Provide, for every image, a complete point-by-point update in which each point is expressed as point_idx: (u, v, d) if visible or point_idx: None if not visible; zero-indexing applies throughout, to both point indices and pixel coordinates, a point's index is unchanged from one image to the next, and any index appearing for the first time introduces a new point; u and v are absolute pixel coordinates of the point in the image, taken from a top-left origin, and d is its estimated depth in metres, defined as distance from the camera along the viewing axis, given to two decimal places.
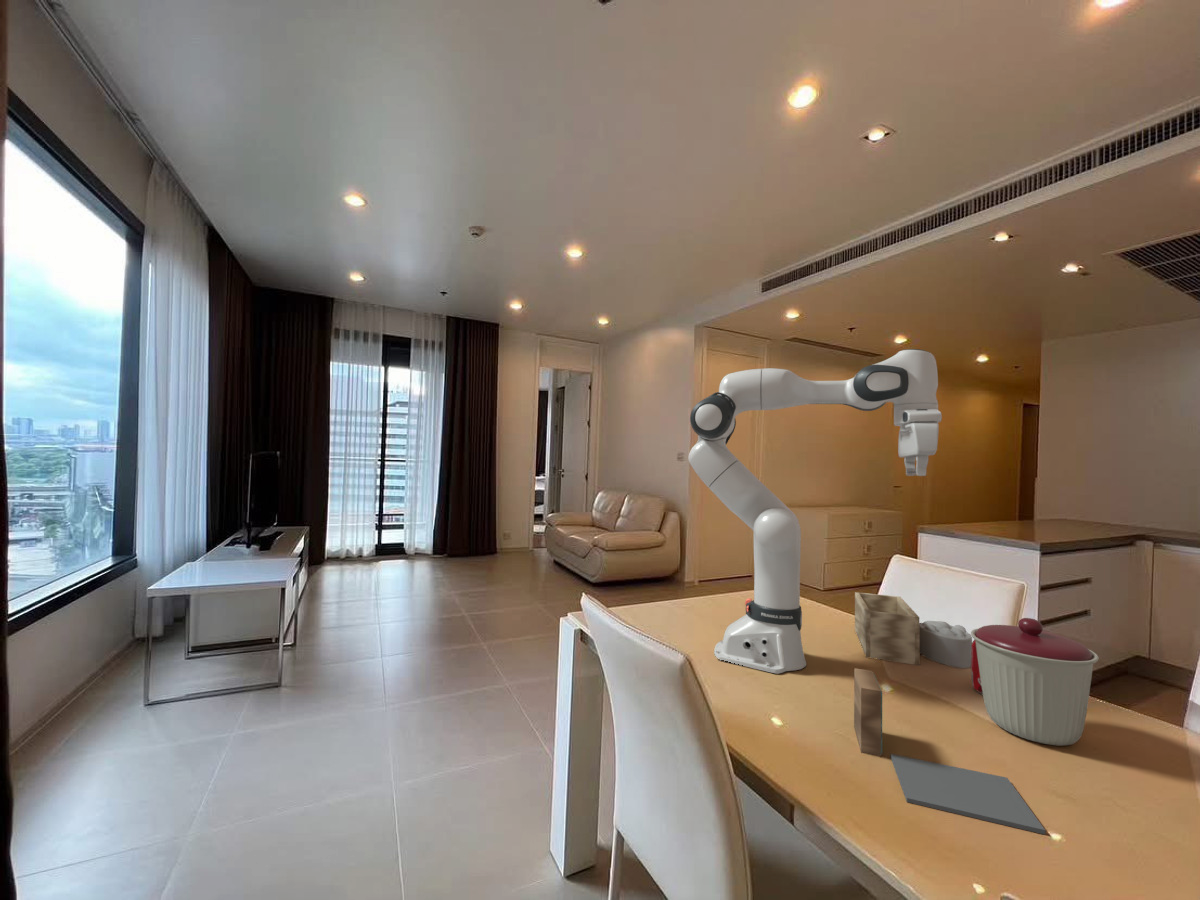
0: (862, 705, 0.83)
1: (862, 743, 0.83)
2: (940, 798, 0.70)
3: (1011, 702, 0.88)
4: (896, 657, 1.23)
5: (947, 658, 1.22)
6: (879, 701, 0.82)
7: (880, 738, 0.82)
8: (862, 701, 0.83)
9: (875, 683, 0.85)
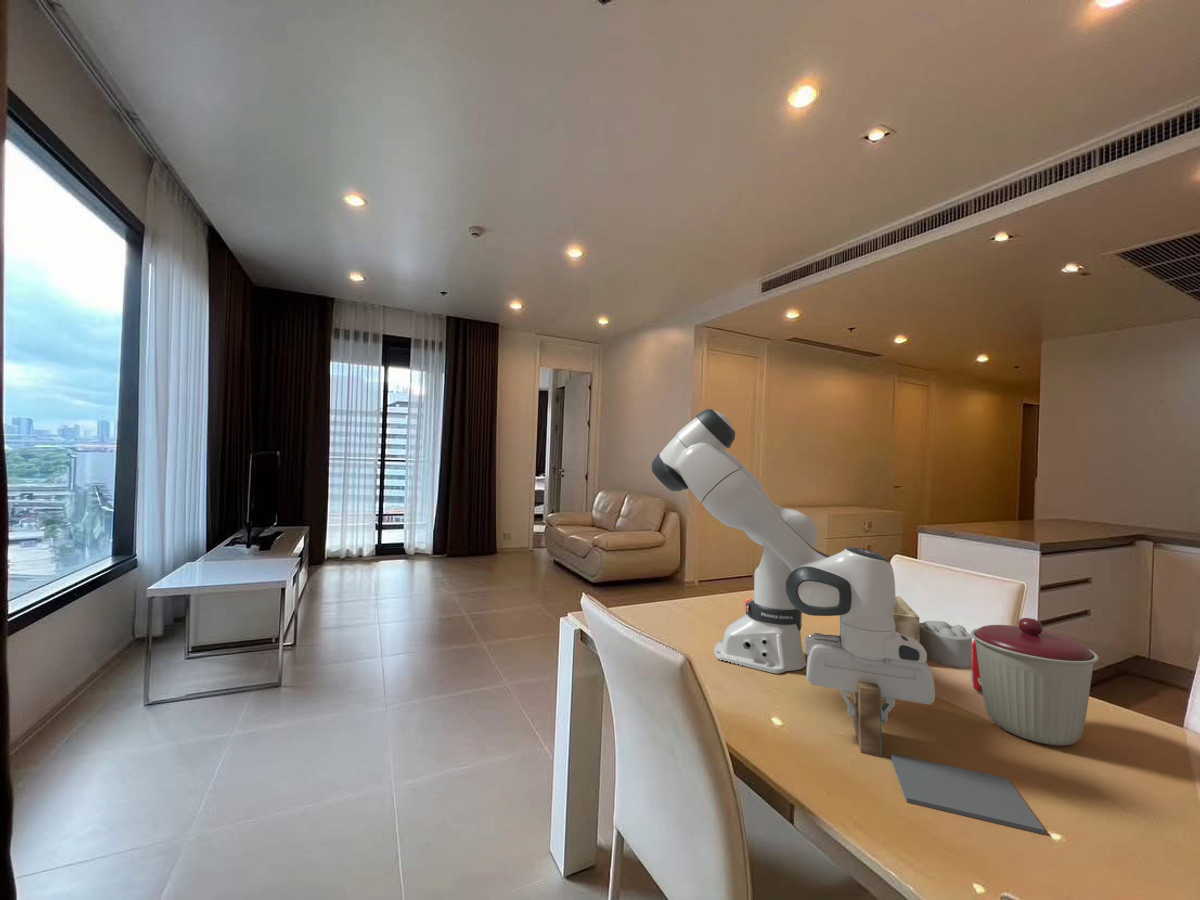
0: (861, 705, 0.83)
1: (862, 743, 0.83)
2: (940, 798, 0.70)
3: (1011, 702, 0.88)
4: None
5: (947, 658, 1.22)
6: (878, 700, 0.82)
7: (880, 737, 0.82)
8: (861, 701, 0.83)
9: None
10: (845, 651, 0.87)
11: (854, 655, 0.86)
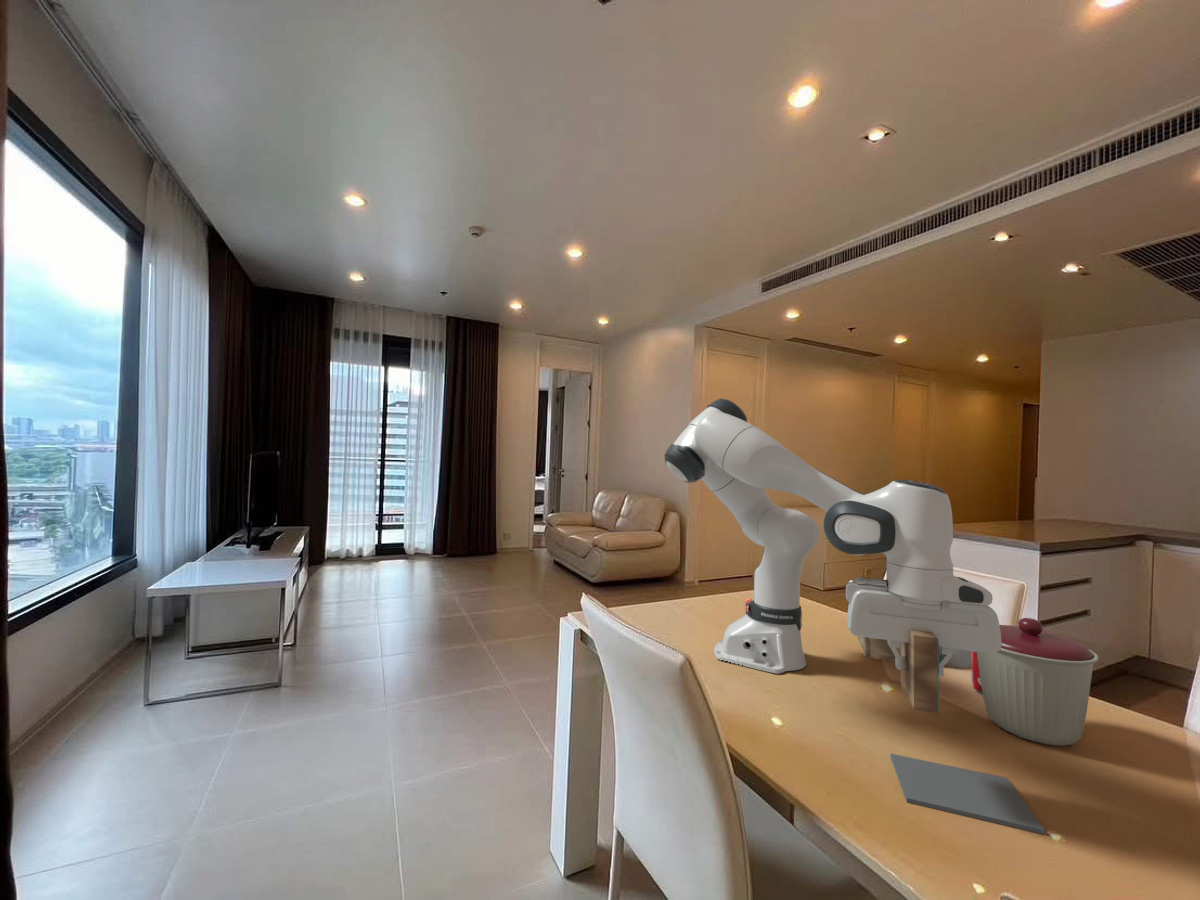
0: (915, 655, 0.72)
1: (915, 698, 0.72)
2: (940, 798, 0.70)
3: (1011, 702, 0.88)
4: None
5: None
6: (935, 650, 0.71)
7: (937, 692, 0.71)
8: (915, 650, 0.72)
9: None
10: (894, 596, 0.76)
11: (905, 600, 0.75)
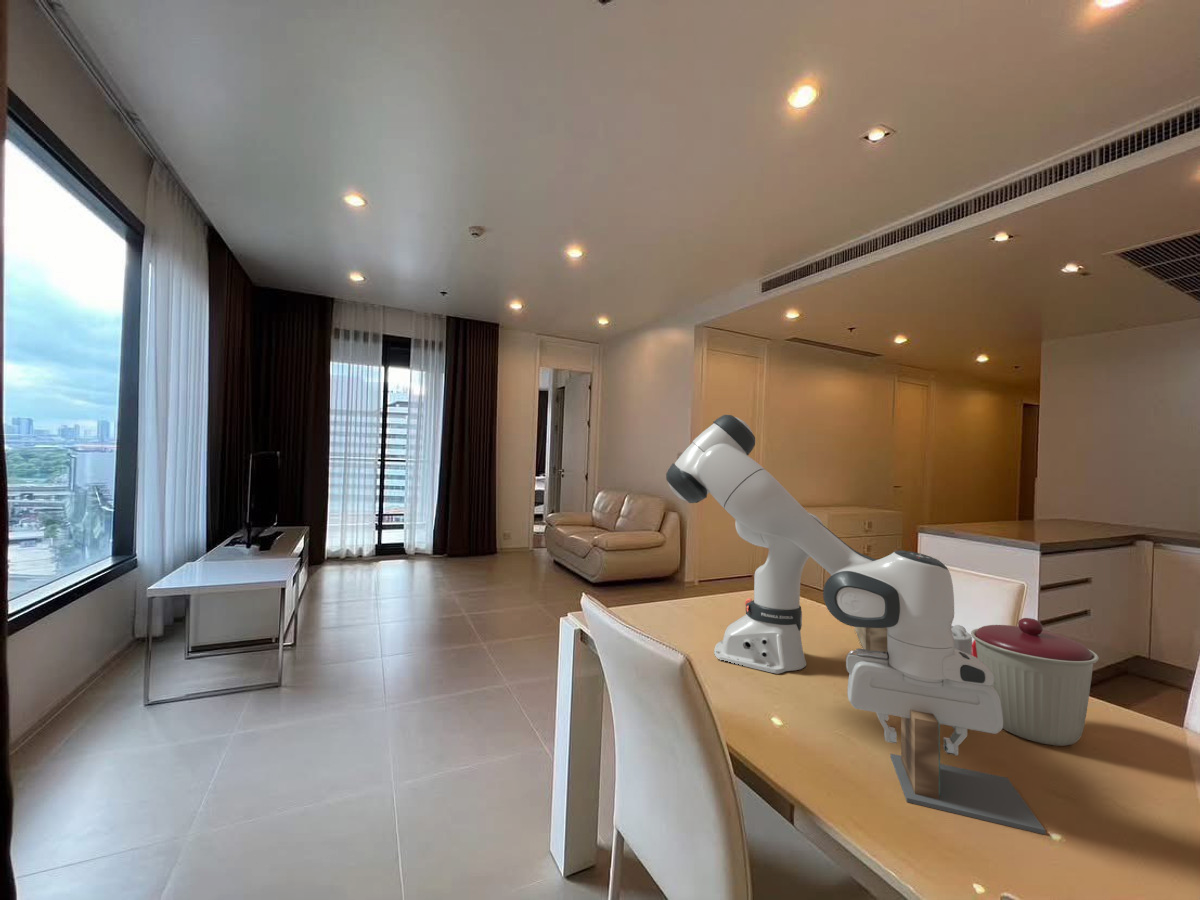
0: (916, 739, 0.71)
1: (916, 783, 0.71)
2: (940, 798, 0.70)
3: (1011, 702, 0.88)
4: None
5: None
6: (936, 734, 0.71)
7: (938, 777, 0.70)
8: (916, 734, 0.71)
9: None
10: (895, 670, 0.75)
11: (906, 675, 0.74)
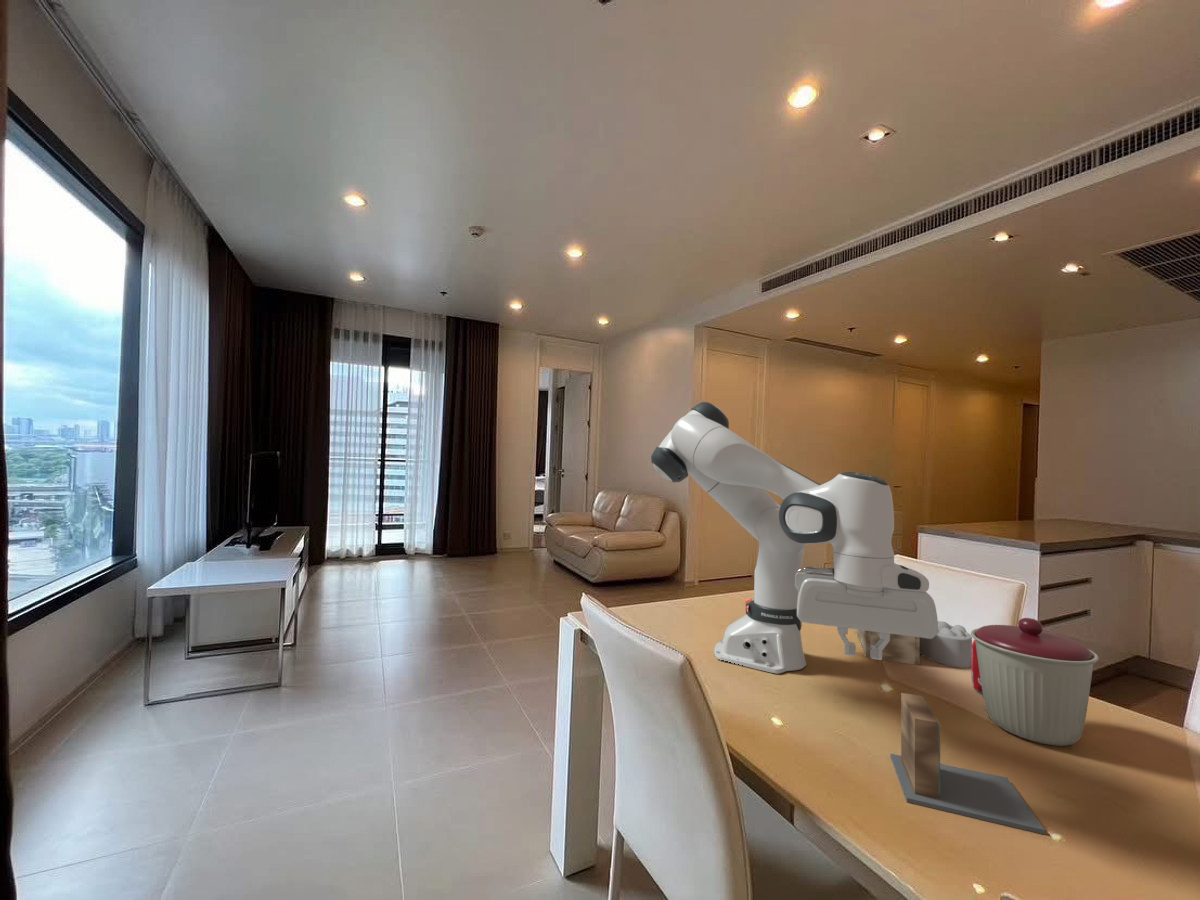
0: (916, 739, 0.71)
1: (916, 783, 0.71)
2: (940, 798, 0.70)
3: (1011, 702, 0.88)
4: (896, 657, 1.23)
5: (947, 658, 1.22)
6: (936, 734, 0.71)
7: (938, 777, 0.70)
8: (916, 734, 0.71)
9: (929, 712, 0.73)
10: (839, 583, 0.79)
11: (849, 587, 0.78)
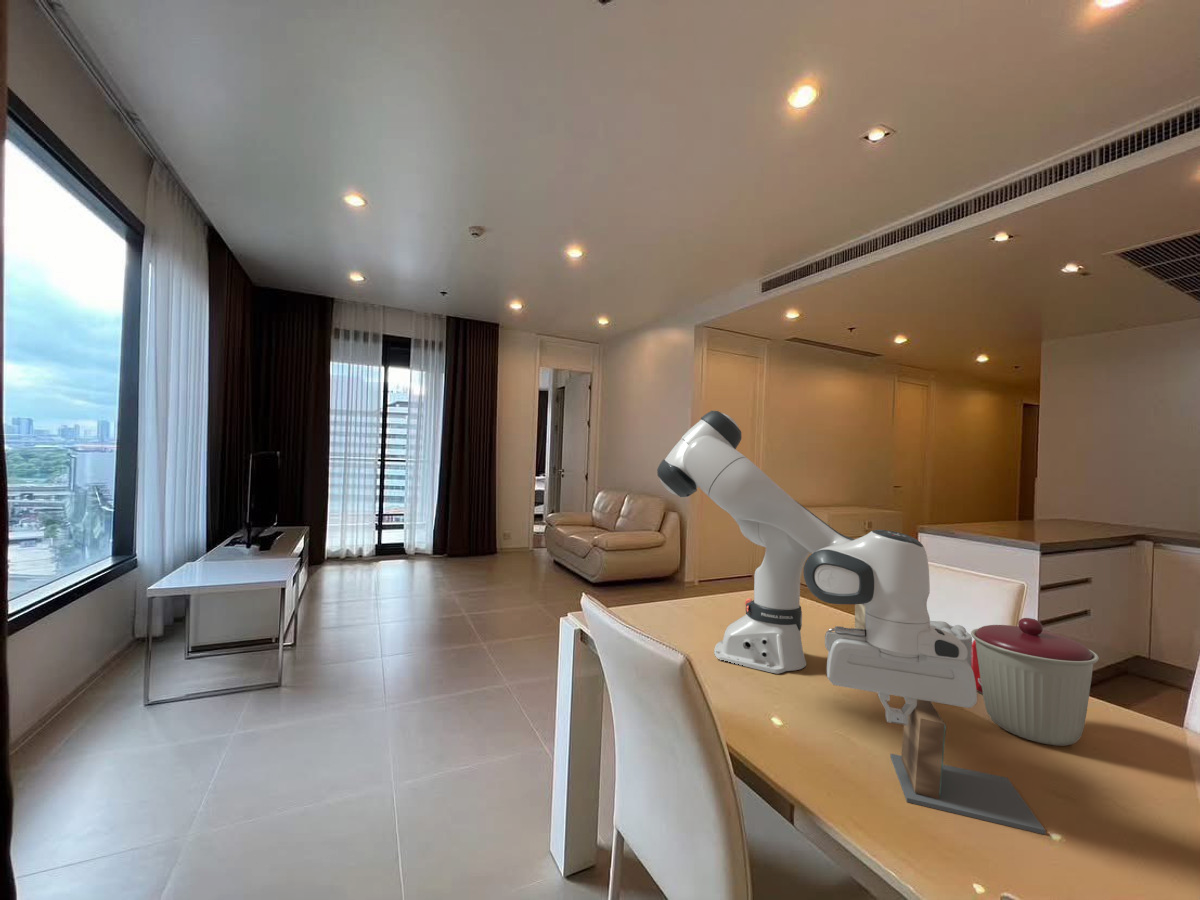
0: (920, 738, 0.71)
1: (917, 782, 0.71)
2: (940, 798, 0.70)
3: (1011, 702, 0.88)
4: None
5: None
6: (941, 735, 0.70)
7: (939, 778, 0.70)
8: (921, 734, 0.71)
9: (935, 713, 0.73)
10: (872, 647, 0.76)
11: (882, 651, 0.75)
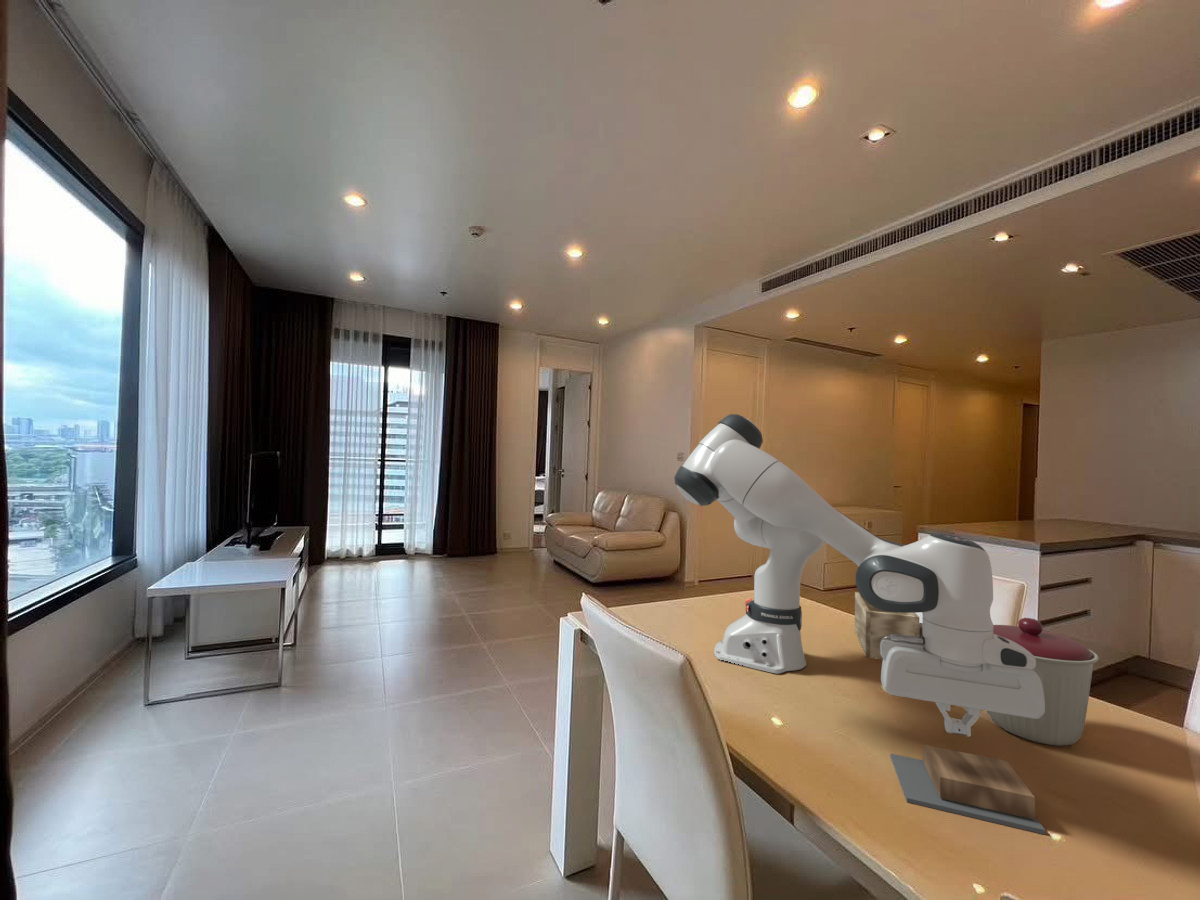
0: (1008, 793, 0.67)
1: (953, 781, 0.70)
2: (940, 798, 0.70)
3: None
4: None
5: None
6: (1018, 814, 0.67)
7: (964, 802, 0.69)
8: (1014, 794, 0.67)
9: None
10: (931, 655, 0.74)
11: (943, 660, 0.73)
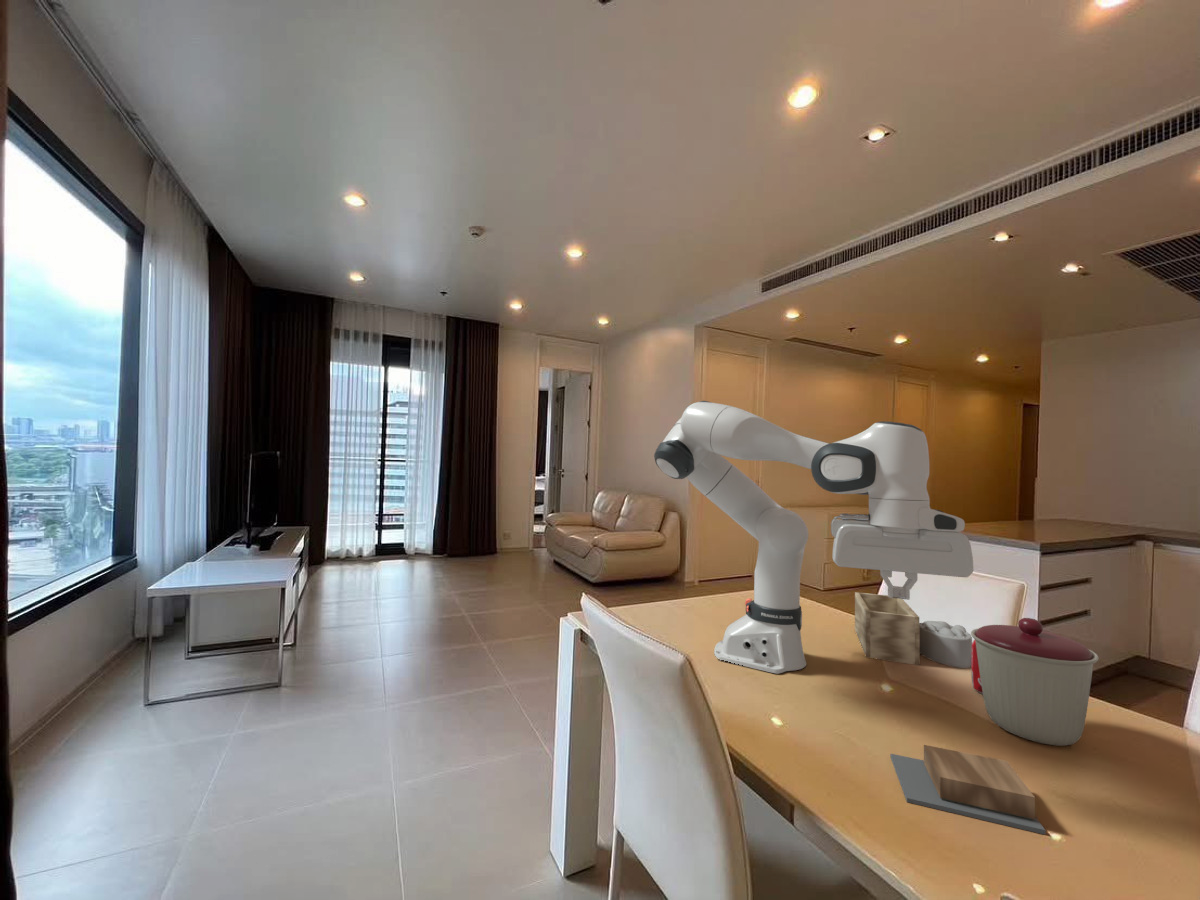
0: (1008, 793, 0.67)
1: (953, 781, 0.70)
2: (940, 798, 0.70)
3: (1011, 702, 0.88)
4: (896, 657, 1.23)
5: (947, 658, 1.22)
6: (1018, 814, 0.67)
7: (964, 802, 0.69)
8: (1014, 794, 0.67)
9: None
10: (875, 528, 0.81)
11: (885, 530, 0.81)
